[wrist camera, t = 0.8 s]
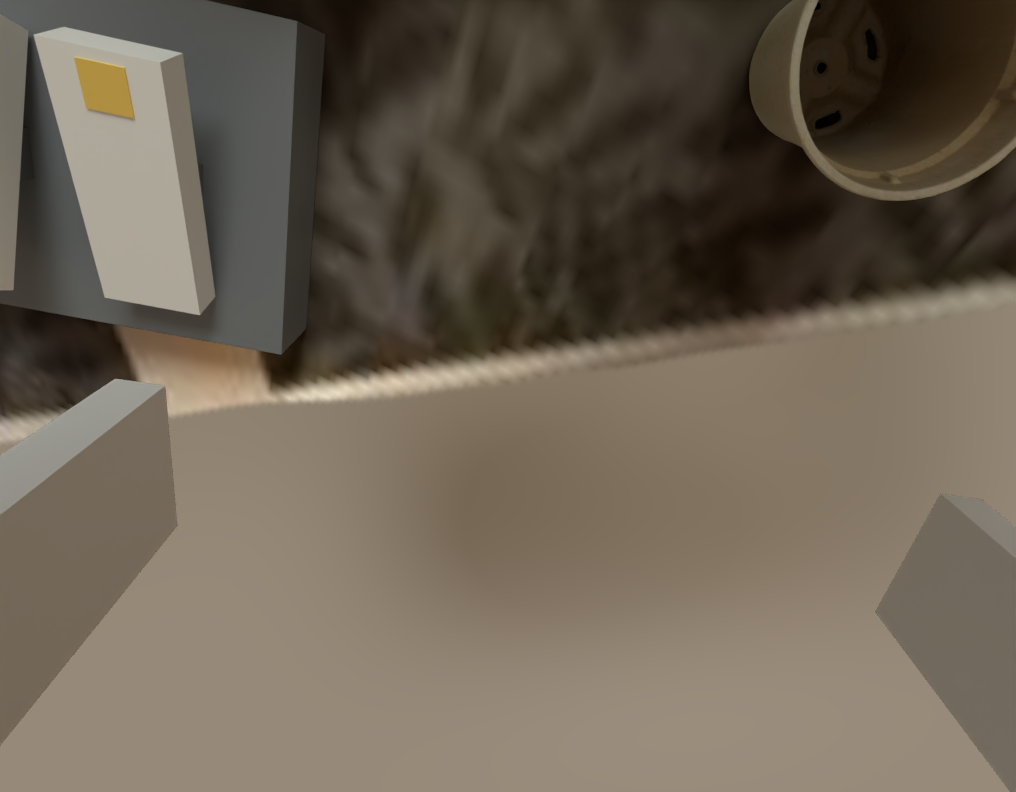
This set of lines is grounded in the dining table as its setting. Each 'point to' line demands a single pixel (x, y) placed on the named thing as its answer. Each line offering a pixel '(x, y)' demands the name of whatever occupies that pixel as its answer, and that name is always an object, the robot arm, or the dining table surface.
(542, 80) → the dining table surface
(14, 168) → the rocker
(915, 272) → the dining table surface
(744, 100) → the dining table surface
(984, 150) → the flower pot
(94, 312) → the switch unit
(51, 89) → the block
